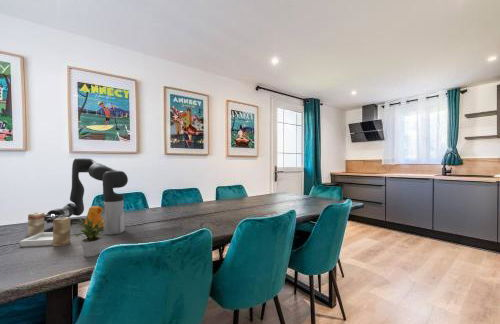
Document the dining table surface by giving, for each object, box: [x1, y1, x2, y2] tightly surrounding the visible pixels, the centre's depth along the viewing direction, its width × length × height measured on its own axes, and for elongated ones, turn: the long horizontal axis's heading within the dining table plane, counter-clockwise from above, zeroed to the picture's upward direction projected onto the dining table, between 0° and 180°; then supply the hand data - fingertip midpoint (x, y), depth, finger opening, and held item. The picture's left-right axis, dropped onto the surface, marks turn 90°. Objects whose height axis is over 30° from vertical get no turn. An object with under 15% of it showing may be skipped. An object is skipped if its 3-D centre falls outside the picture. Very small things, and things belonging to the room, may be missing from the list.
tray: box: [19, 231, 53, 248], centre depth 111 cm, size 13×13×2 cm
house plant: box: [70, 216, 109, 258], centre depth 95 cm, size 14×14×16 cm
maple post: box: [27, 212, 45, 237], centre depth 121 cm, size 5×5×11 cm
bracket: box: [83, 205, 104, 229], centre depth 137 cm, size 11×7×12 cm, turn 171°
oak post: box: [52, 216, 71, 247], centre depth 107 cm, size 4×4×12 cm
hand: (38, 221), depth 122 cm, fingers open, 8 cm apart
